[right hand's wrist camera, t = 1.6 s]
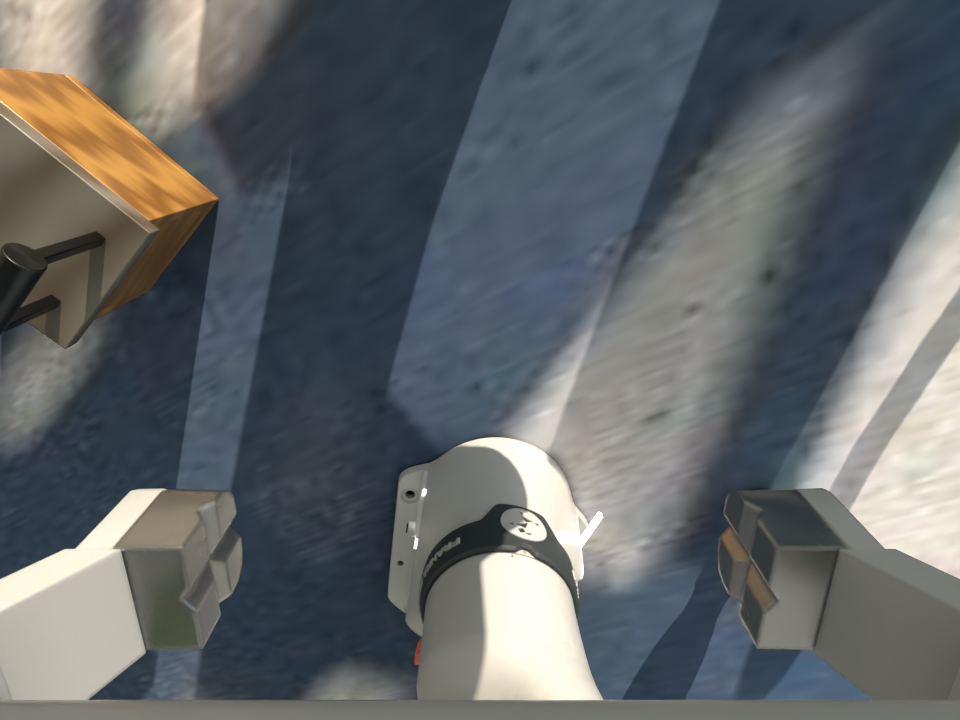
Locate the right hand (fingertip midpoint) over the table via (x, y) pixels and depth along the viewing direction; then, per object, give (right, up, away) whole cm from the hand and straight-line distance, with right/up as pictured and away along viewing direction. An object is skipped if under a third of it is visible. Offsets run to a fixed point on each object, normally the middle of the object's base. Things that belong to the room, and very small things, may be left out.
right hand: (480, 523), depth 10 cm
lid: (-29, +12, +28) cm, 42 cm away
